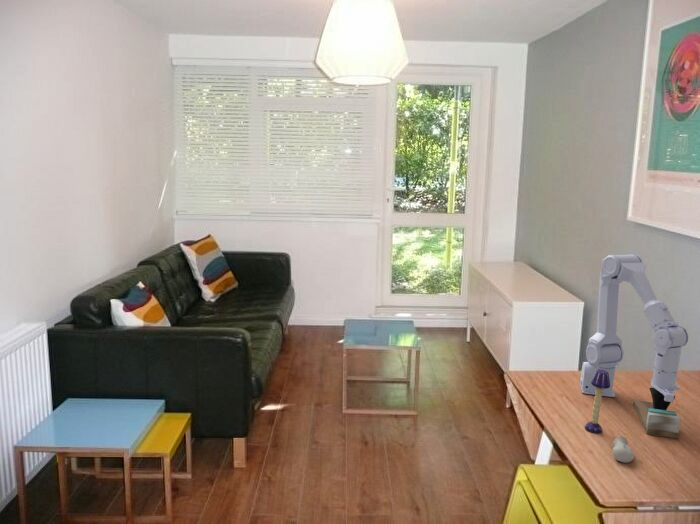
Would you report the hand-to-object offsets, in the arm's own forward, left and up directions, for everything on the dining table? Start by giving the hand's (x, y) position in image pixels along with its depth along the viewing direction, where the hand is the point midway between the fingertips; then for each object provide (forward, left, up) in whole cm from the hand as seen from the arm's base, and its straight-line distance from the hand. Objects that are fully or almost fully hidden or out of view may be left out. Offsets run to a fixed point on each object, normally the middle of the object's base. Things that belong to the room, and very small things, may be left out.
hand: (658, 415), depth 160 cm
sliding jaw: (0, -4, -1) cm, 5 cm away
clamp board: (0, +2, -3) cm, 3 cm away
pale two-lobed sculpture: (-13, -22, -3) cm, 26 cm away
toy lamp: (-17, -9, -3) cm, 20 cm away
